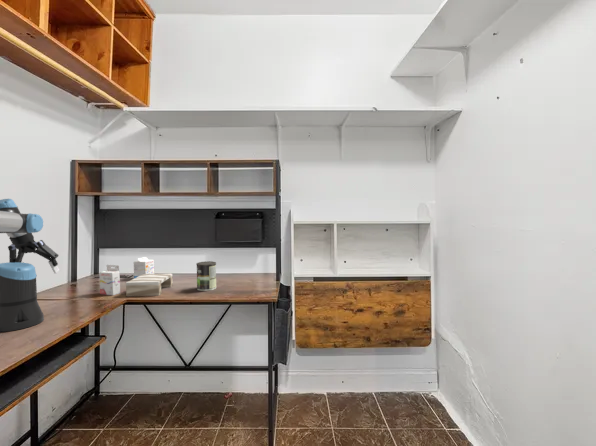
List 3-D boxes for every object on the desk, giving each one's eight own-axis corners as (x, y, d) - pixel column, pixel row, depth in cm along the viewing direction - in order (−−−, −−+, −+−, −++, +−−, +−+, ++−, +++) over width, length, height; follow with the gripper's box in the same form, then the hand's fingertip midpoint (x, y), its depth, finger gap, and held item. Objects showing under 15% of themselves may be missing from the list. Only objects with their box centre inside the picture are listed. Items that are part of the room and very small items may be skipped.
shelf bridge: (159, 295, 158) (158, 281, 158) (126, 296, 157) (125, 282, 157) (172, 285, 178) (172, 273, 178) (143, 286, 177) (143, 274, 177)
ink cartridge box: (99, 294, 161) (98, 266, 161) (107, 292, 166) (106, 264, 165) (112, 295, 159) (111, 266, 158) (120, 293, 164) (119, 265, 163)
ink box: (145, 280, 192) (145, 258, 191) (133, 280, 193) (132, 258, 193) (154, 277, 200) (154, 256, 199) (143, 277, 202) (142, 256, 201)
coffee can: (199, 292, 164) (199, 265, 163) (194, 287, 173) (194, 262, 172) (219, 289, 170) (218, 263, 169) (213, 285, 178) (212, 260, 178)
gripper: (53, 226, 140) (74, 265, 149) (-3, 233, 139) (20, 272, 148) (42, 233, 133) (64, 274, 142) (-17, 241, 132) (9, 282, 142)
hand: (42, 273), depth 145 cm, fingers open, 13 cm apart
